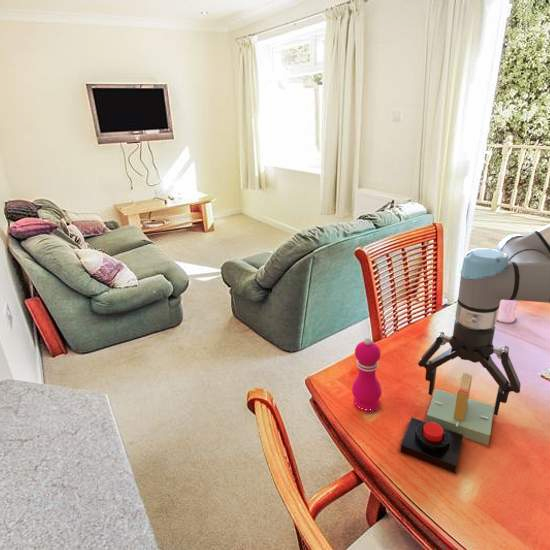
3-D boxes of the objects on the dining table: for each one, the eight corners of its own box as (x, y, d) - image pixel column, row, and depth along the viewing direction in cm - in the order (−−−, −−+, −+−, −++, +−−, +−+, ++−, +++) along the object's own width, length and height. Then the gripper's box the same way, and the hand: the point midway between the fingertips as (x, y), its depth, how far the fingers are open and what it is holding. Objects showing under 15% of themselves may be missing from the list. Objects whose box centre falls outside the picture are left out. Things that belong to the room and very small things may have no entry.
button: (444, 431, 81) (445, 425, 81) (440, 445, 78) (441, 439, 78) (425, 425, 84) (425, 419, 83) (421, 438, 80) (421, 432, 80)
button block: (461, 441, 83) (464, 428, 81) (455, 473, 76) (457, 459, 75) (410, 424, 89) (412, 411, 87) (400, 452, 82) (401, 438, 80)
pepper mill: (382, 415, 92) (385, 347, 84) (352, 413, 93) (352, 346, 85) (379, 394, 98) (382, 330, 90) (351, 393, 100) (352, 329, 92)
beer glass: (491, 320, 126) (498, 280, 119) (493, 311, 131) (501, 272, 125) (515, 325, 122) (524, 284, 116) (517, 315, 127) (525, 275, 121)
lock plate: (492, 413, 90) (494, 403, 88) (487, 447, 81) (490, 437, 80) (435, 396, 96) (436, 386, 95) (425, 426, 88) (426, 415, 86)
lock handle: (458, 399, 91) (462, 371, 87) (467, 401, 90) (472, 374, 86) (453, 418, 85) (457, 390, 82) (463, 421, 84) (467, 393, 81)
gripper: (408, 317, 81) (402, 393, 90) (548, 347, 68) (525, 432, 77) (417, 302, 87) (411, 375, 96) (547, 327, 74) (527, 408, 83)
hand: (462, 400), depth 86 cm, fingers open, 13 cm apart
